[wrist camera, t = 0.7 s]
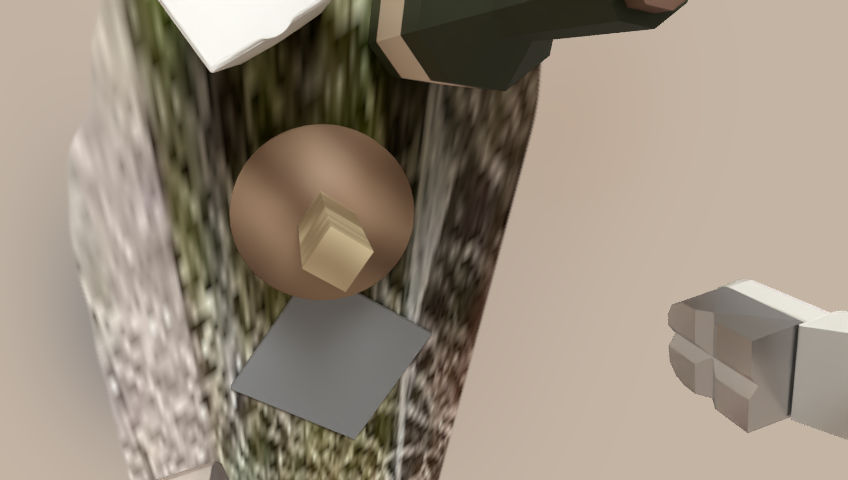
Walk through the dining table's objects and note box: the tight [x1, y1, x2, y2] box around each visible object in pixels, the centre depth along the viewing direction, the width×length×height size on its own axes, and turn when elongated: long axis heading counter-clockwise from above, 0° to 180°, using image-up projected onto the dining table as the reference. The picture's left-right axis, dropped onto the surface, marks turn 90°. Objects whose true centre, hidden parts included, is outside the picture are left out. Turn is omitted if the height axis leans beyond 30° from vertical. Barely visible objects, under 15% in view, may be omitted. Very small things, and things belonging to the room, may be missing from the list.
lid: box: [230, 124, 414, 300], centre depth 34 cm, size 14×14×10 cm
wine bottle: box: [368, 0, 688, 91], centre depth 28 cm, size 8×8×30 cm
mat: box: [231, 293, 432, 439], centre depth 49 cm, size 14×14×1 cm
